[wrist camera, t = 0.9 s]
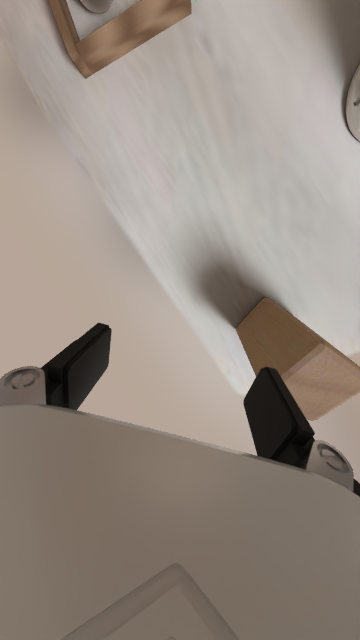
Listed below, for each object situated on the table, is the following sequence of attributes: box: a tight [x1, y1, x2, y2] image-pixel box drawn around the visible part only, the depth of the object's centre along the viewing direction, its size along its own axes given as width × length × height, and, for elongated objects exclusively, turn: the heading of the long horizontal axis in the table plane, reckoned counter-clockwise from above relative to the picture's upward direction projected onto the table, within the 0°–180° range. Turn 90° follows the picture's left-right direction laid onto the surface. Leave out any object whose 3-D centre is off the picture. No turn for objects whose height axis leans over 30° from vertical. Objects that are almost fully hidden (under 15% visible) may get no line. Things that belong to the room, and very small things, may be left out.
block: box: [236, 297, 360, 421], centre depth 32 cm, size 10×10×20 cm
